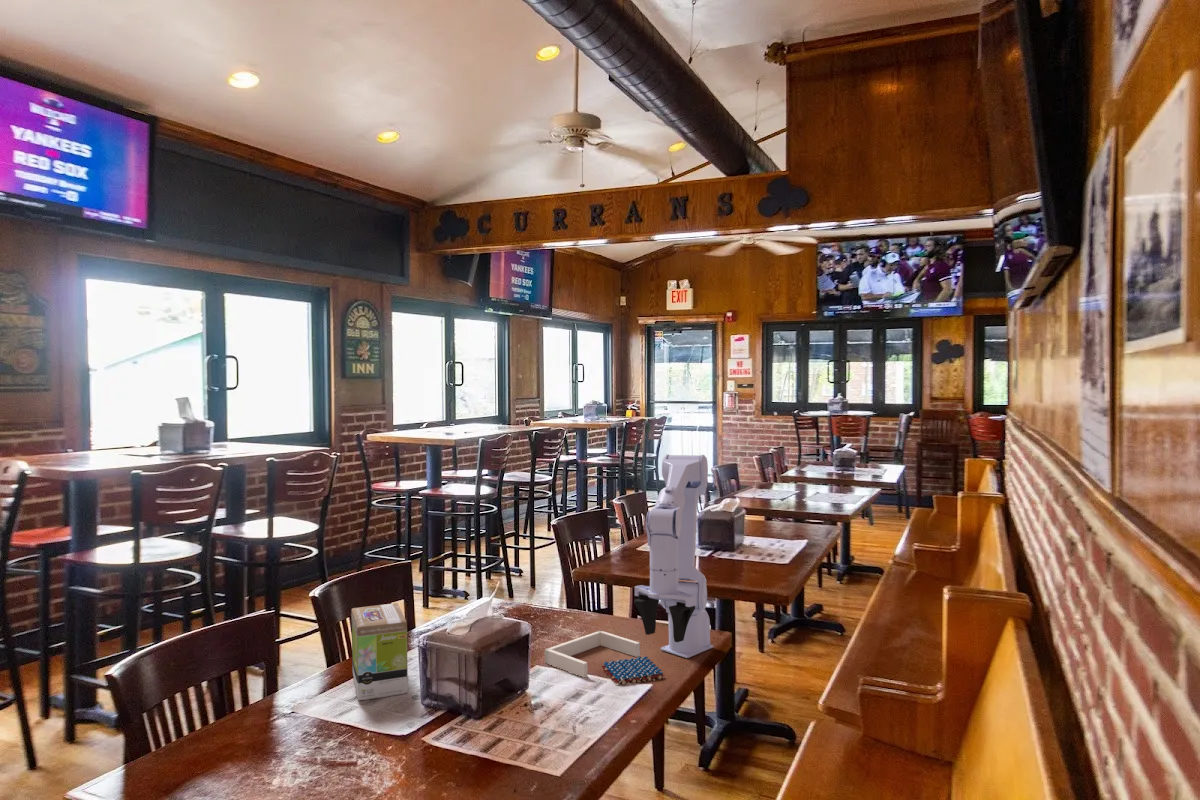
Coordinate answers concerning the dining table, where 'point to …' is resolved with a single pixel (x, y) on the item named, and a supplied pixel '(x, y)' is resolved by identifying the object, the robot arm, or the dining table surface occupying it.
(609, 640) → the frame
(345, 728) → the dining table surface
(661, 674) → the woven mat
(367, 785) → the dining table surface
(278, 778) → the dining table surface
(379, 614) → the tea box
